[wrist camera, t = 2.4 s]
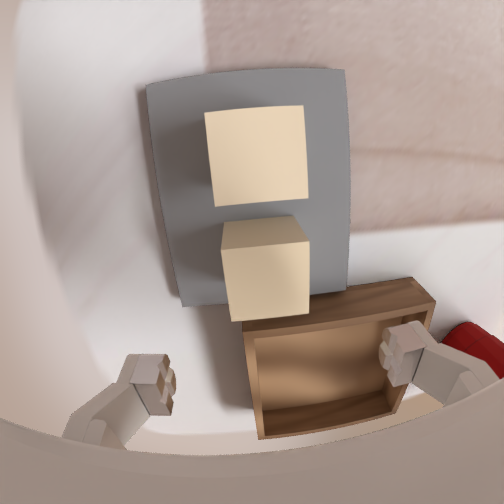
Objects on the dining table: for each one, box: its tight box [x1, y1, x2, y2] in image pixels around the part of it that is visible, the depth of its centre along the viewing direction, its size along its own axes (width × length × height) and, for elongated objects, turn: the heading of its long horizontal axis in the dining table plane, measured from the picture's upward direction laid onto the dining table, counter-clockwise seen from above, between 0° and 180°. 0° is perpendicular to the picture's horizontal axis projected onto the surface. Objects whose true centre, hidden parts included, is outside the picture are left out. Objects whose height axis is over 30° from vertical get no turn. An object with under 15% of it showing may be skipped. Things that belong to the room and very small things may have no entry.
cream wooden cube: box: [204, 105, 308, 207], centre depth 13 cm, size 4×4×4 cm
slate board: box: [146, 68, 350, 307], centre depth 17 cm, size 14×11×1 cm
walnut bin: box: [242, 277, 436, 440], centre depth 21 cm, size 13×13×4 cm
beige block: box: [221, 216, 310, 322], centre depth 16 cm, size 4×4×4 cm
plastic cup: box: [441, 322, 504, 379], centre depth 19 cm, size 11×11×12 cm
